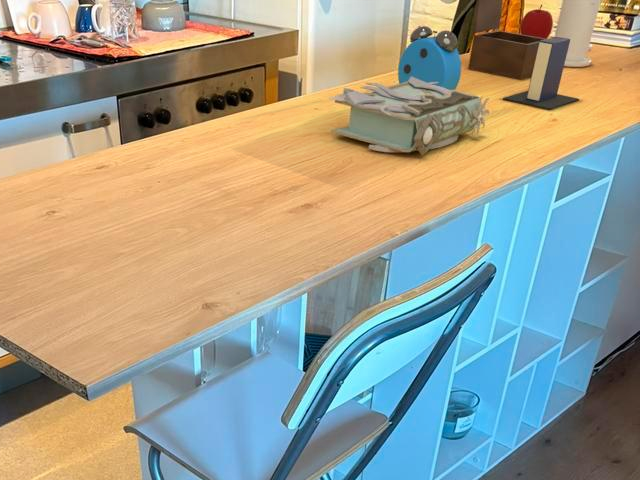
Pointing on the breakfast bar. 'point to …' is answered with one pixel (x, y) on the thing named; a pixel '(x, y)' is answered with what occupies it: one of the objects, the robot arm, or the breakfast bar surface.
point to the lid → (487, 15)
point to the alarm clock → (431, 58)
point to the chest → (504, 54)
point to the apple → (537, 24)
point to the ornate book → (410, 115)
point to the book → (548, 68)
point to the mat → (546, 104)
